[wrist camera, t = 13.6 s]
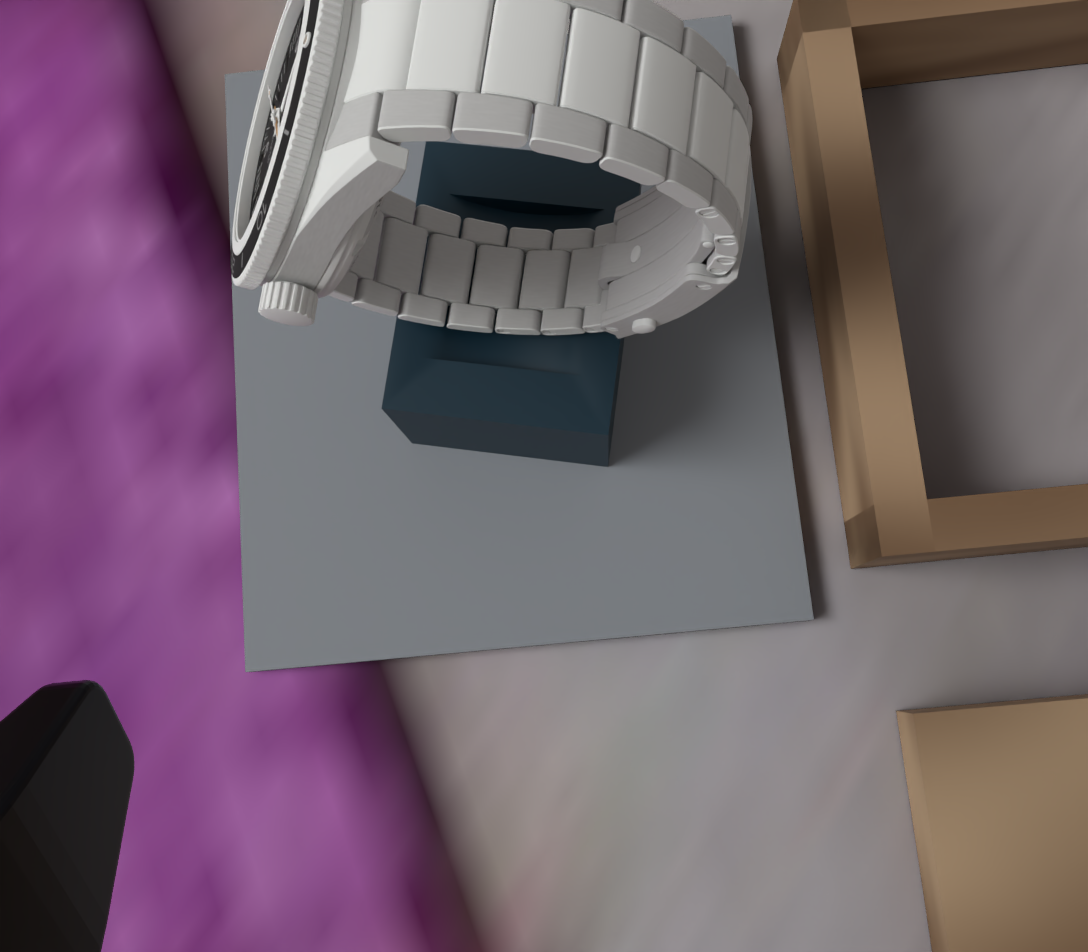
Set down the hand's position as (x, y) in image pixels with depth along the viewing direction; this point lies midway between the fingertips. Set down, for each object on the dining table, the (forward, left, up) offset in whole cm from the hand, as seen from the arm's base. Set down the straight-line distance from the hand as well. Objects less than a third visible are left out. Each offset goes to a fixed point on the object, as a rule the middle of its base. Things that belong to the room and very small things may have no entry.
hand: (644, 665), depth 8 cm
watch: (+7, +1, -13) cm, 15 cm away
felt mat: (+8, +2, -14) cm, 16 cm away
